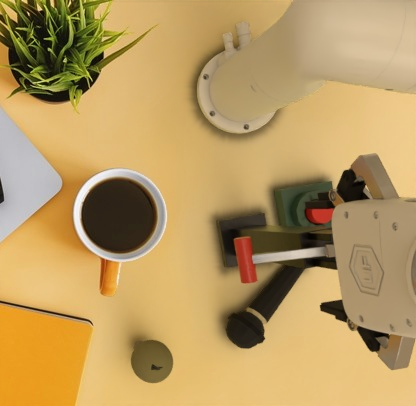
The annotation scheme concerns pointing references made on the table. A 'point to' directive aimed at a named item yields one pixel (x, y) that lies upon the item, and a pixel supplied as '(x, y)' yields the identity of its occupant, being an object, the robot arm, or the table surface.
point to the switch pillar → (274, 240)
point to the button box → (299, 204)
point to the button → (319, 215)
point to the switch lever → (272, 256)
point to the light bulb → (151, 361)
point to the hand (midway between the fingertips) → (327, 253)
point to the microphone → (261, 310)
